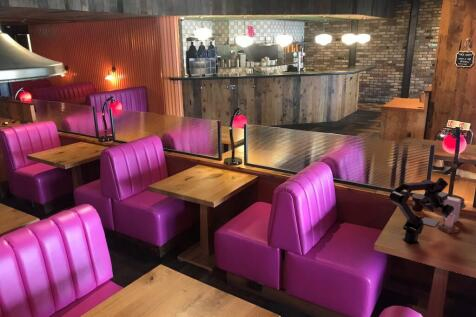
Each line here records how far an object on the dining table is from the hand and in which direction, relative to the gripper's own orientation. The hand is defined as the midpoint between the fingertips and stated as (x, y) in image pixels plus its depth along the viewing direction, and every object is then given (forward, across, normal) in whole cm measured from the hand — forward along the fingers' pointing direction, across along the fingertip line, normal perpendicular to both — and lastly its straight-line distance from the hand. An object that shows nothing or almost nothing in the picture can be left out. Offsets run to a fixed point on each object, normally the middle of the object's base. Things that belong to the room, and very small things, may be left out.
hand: (439, 214), depth 238 cm
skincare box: (+24, +8, -13) cm, 29 cm away
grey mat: (+15, +12, 0) cm, 19 cm away
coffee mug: (+20, +28, -7) cm, 35 cm away
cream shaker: (+16, 0, -1) cm, 16 cm away
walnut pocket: (+16, 0, -1) cm, 16 cm away
